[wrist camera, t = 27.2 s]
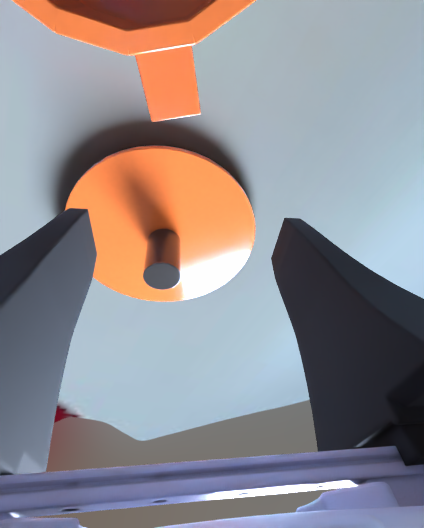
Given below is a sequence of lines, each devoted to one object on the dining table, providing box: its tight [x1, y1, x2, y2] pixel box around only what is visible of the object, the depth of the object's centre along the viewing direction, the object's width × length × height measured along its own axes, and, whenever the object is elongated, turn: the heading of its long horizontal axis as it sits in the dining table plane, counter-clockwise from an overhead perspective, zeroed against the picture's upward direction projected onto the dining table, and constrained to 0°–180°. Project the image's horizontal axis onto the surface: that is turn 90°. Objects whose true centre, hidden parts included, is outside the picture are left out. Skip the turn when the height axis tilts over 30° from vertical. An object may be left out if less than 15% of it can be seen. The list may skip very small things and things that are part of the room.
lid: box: [65, 145, 255, 302], centre depth 21 cm, size 15×15×5 cm
